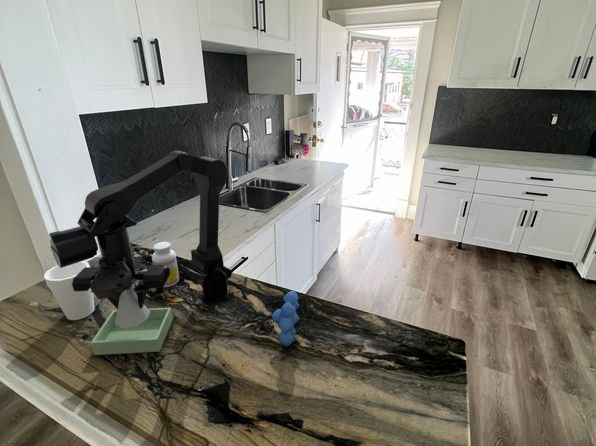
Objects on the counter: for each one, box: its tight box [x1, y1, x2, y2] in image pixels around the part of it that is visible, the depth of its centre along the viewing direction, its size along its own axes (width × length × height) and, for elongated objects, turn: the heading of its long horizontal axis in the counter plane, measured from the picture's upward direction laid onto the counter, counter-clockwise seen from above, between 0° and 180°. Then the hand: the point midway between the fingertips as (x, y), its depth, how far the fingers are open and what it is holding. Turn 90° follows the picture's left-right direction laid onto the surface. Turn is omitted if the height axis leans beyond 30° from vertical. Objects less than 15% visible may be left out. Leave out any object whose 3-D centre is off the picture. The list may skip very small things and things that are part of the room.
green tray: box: [90, 307, 174, 356], centre depth 75 cm, size 14×11×4 cm
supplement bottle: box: [151, 241, 180, 288], centre depth 95 cm, size 7×7×13 cm
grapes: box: [271, 290, 300, 347], centre depth 74 cm, size 12×7×12 cm, turn 170°
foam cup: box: [43, 260, 95, 321], centre depth 81 cm, size 10×9×13 cm
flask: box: [115, 284, 150, 328], centre depth 72 cm, size 7×7×10 cm
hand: (130, 308), depth 73 cm, fingers closed on flask, 5 cm apart
